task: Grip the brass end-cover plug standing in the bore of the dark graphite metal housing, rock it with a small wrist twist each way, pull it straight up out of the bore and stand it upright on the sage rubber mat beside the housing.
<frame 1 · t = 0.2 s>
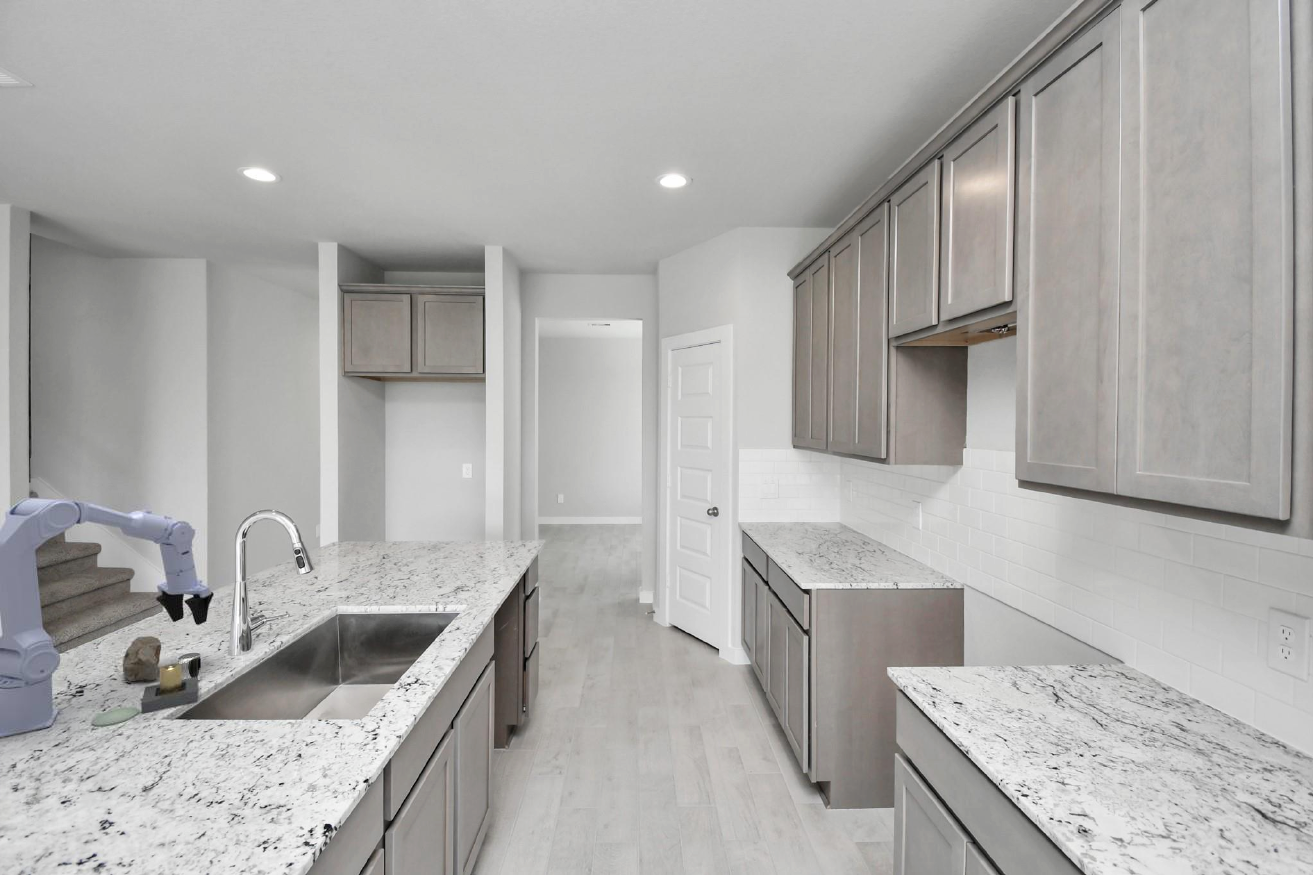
hand: (189, 621, 146), 10 cm above the table, tool pointing down, fingers open, 7 cm apart
mat: (115, 717, 119), on the table
rock: (142, 677, 139), on the table
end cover: (170, 682, 127), in the housing
housing: (171, 699, 127), on the table
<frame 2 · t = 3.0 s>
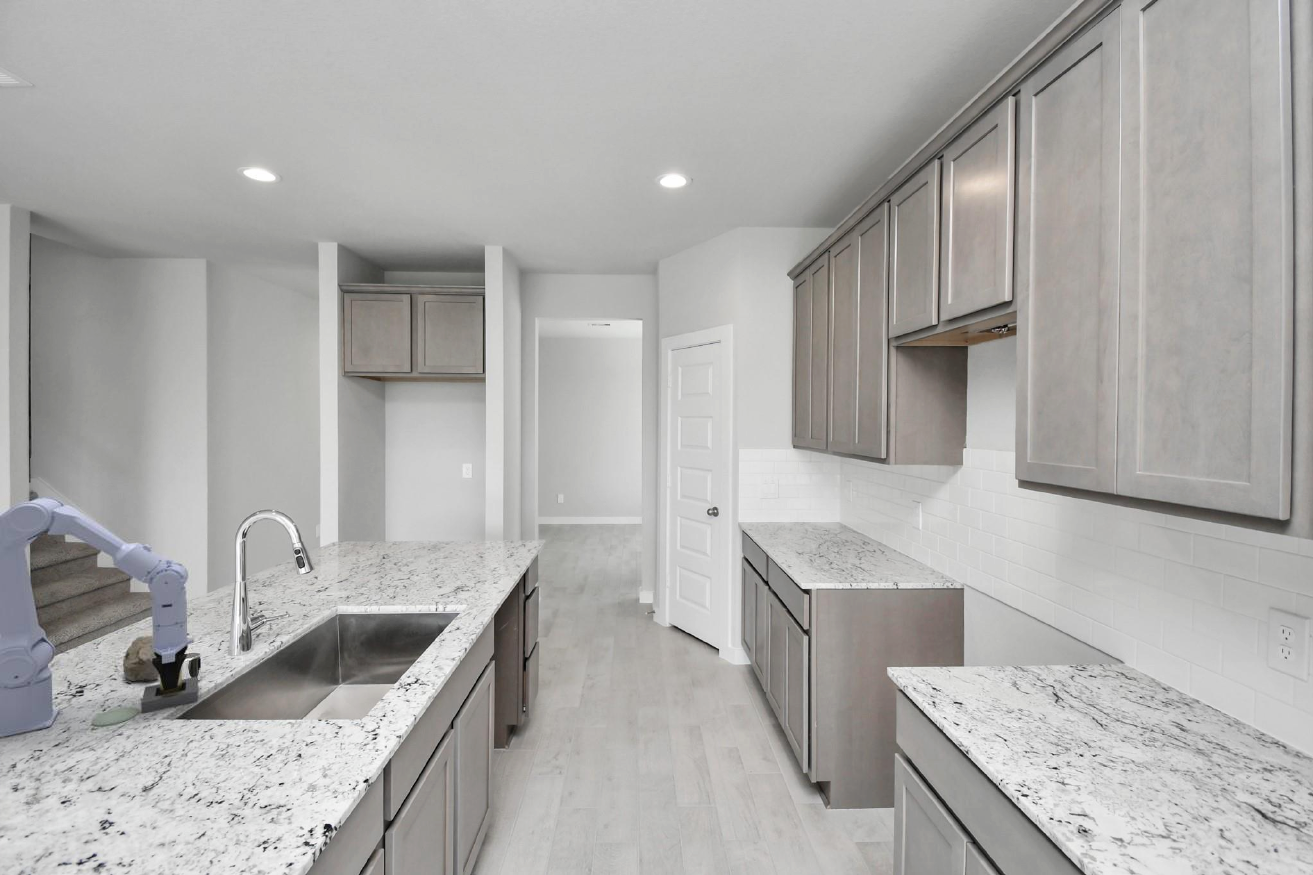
hand: (171, 685, 127), 3 cm above the table, tool pointing down, fingers closed on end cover, 4 cm apart
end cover: (170, 682, 127), in the housing, touching gripper
everything else where it was.
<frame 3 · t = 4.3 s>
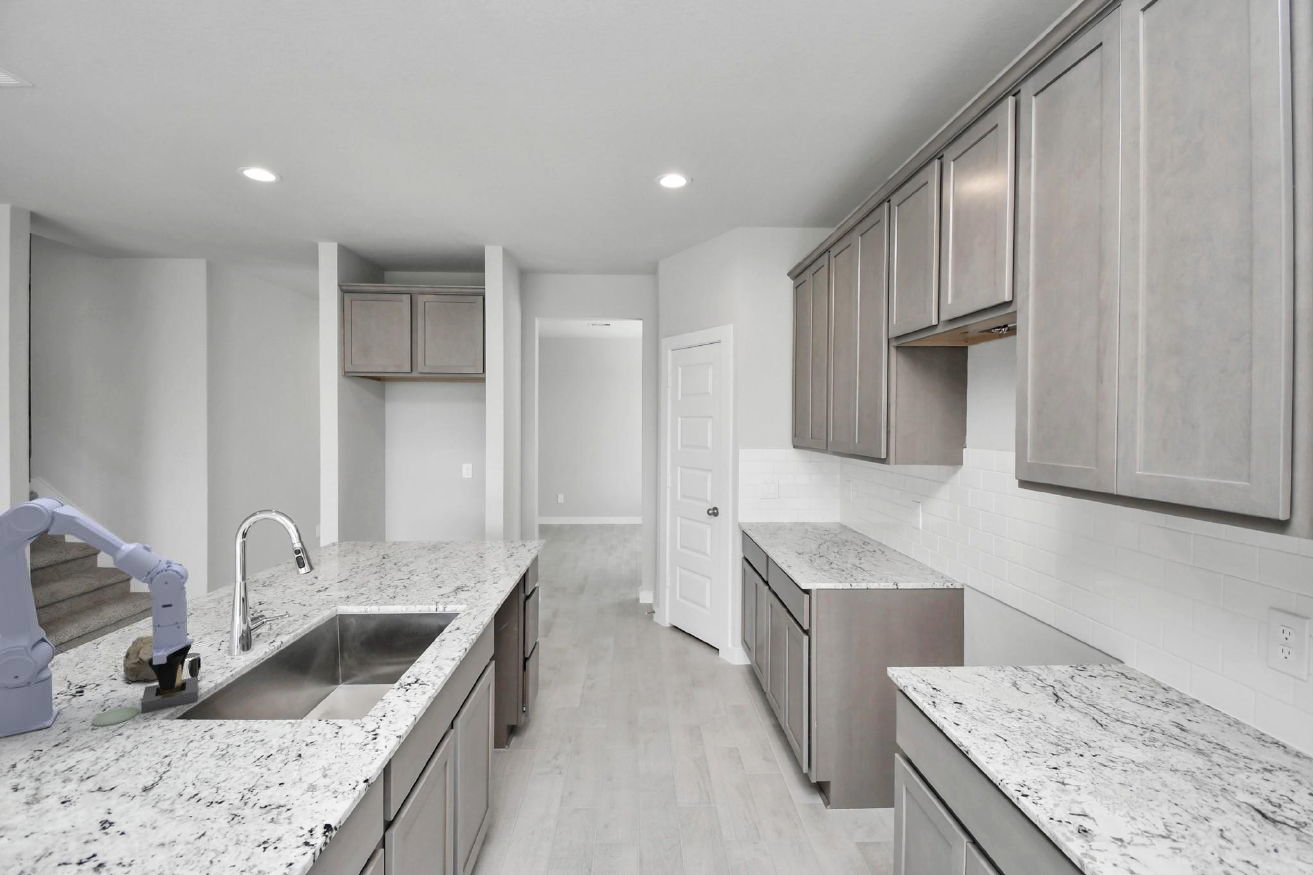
hand: (170, 685, 127), 3 cm above the table, tool pointing down, fingers closed on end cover, 4 cm apart
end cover: (170, 682, 127), in the housing, touching gripper
everything else where it was.
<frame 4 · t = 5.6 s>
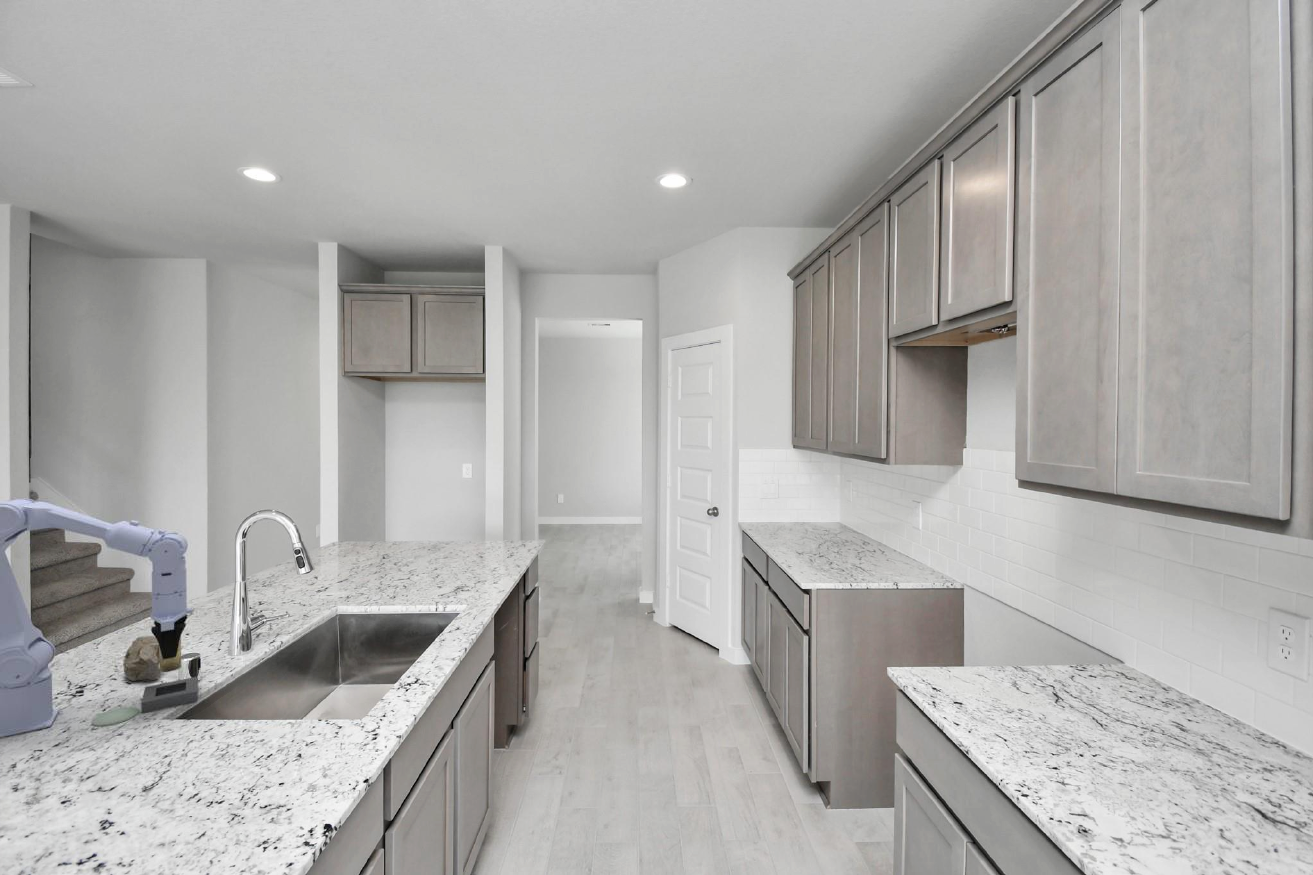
hand: (170, 654, 127), 10 cm above the table, tool pointing down, fingers closed on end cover, 4 cm apart
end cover: (170, 651, 127), point 10 cm above the table, touching gripper
everything else where it was.
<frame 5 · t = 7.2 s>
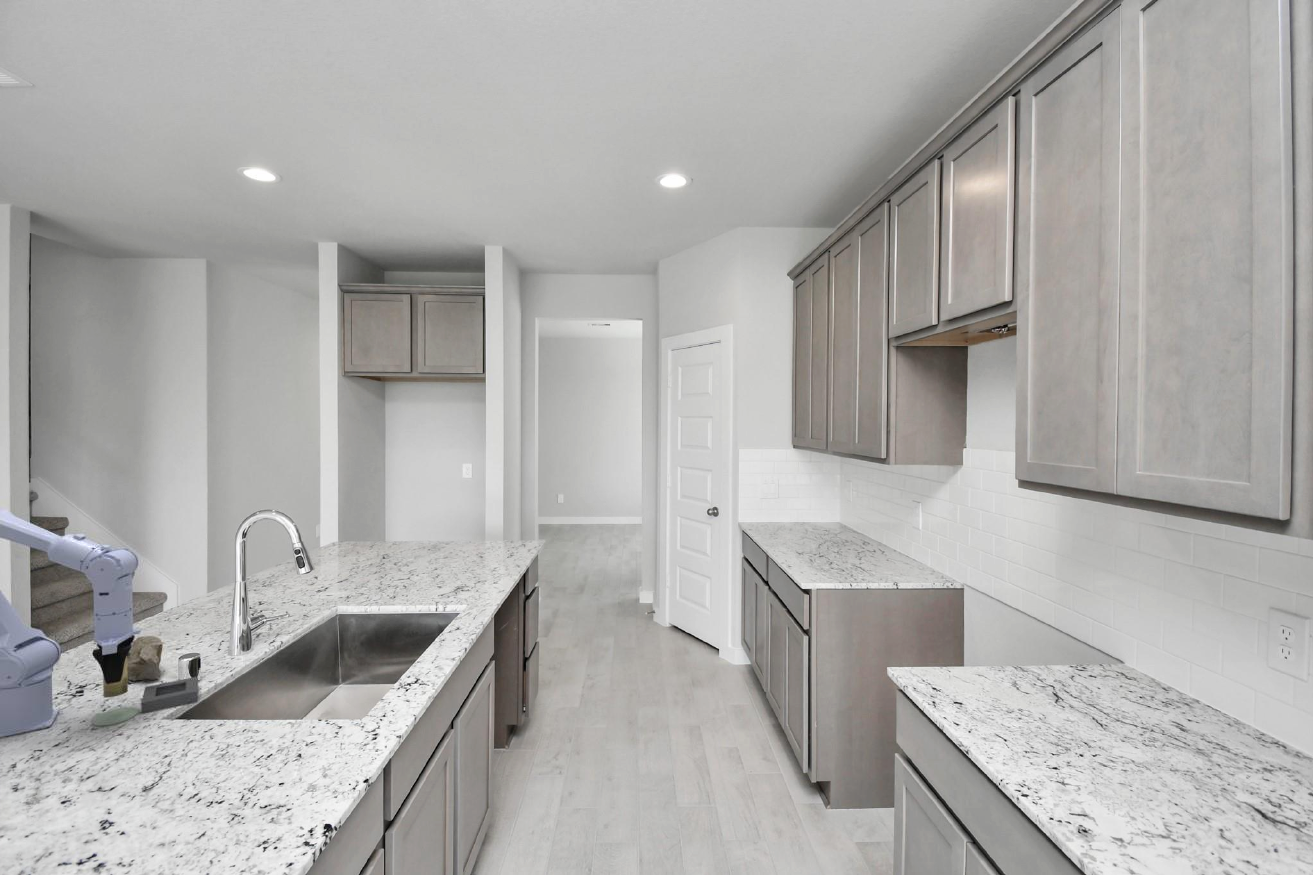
hand: (115, 678, 119), 8 cm above the table, tool pointing down, fingers closed on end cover, 4 cm apart
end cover: (115, 675, 119), point 8 cm above the table, touching gripper
everything else where it was.
when the fingers open (4 cm above the table, at t = 8.6 s): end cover stays where it is, resting on mat.
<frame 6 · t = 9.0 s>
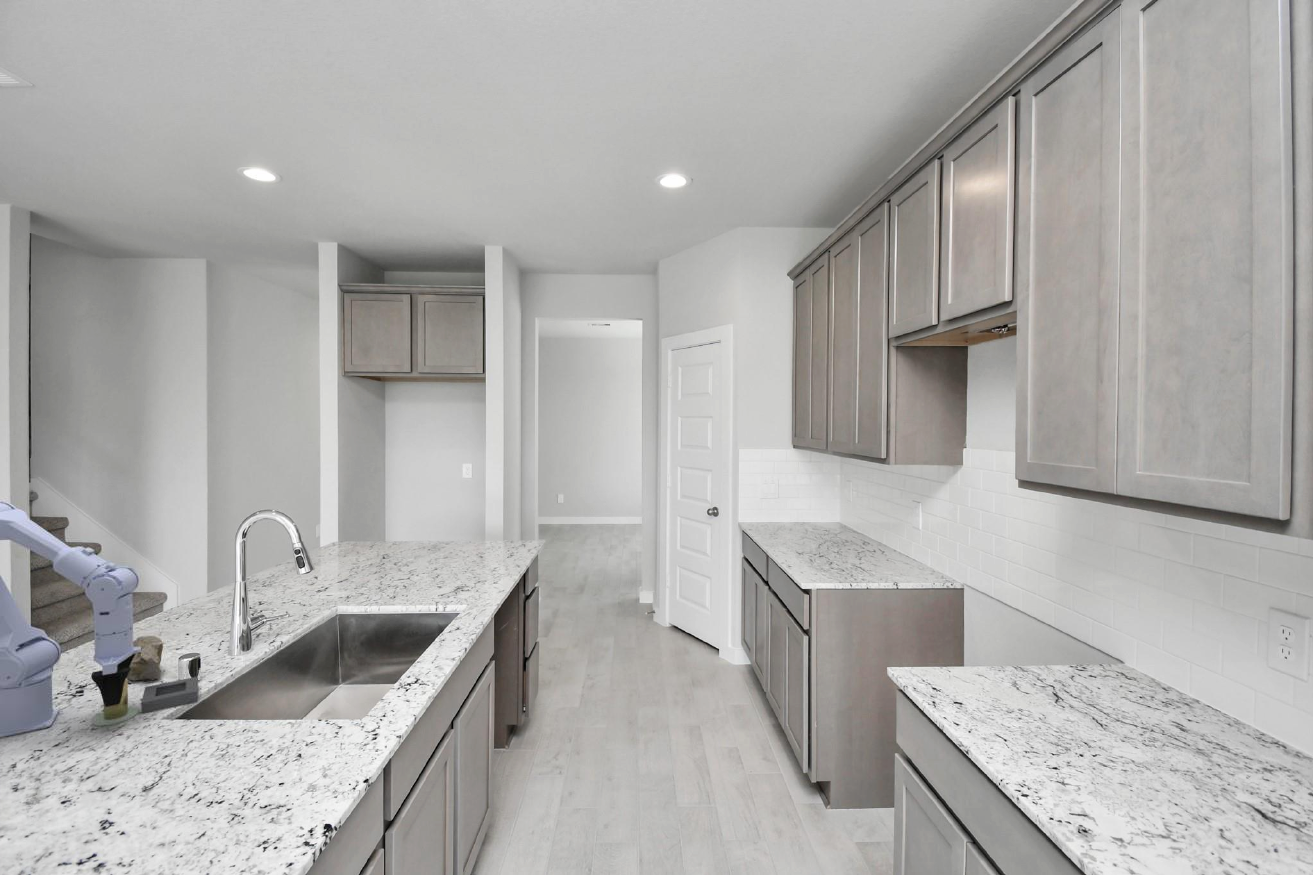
hand: (115, 697, 119), 4 cm above the table, tool pointing down, fingers open, 7 cm apart
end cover: (115, 697, 119), on the mat
everything else where it was.
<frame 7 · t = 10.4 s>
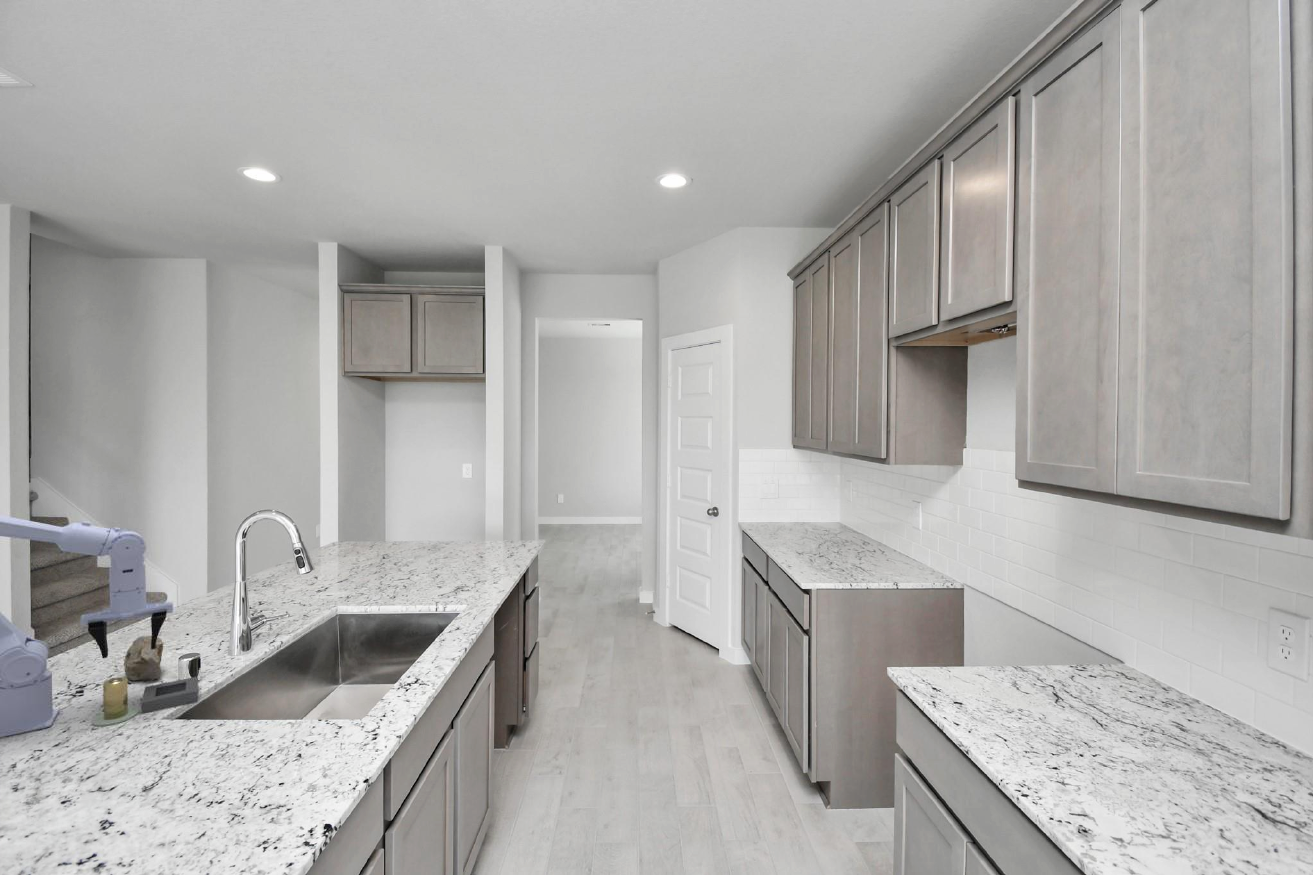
hand: (129, 652, 126), 10 cm above the table, tool pointing down, fingers open, 7 cm apart
nothing on the table moved.
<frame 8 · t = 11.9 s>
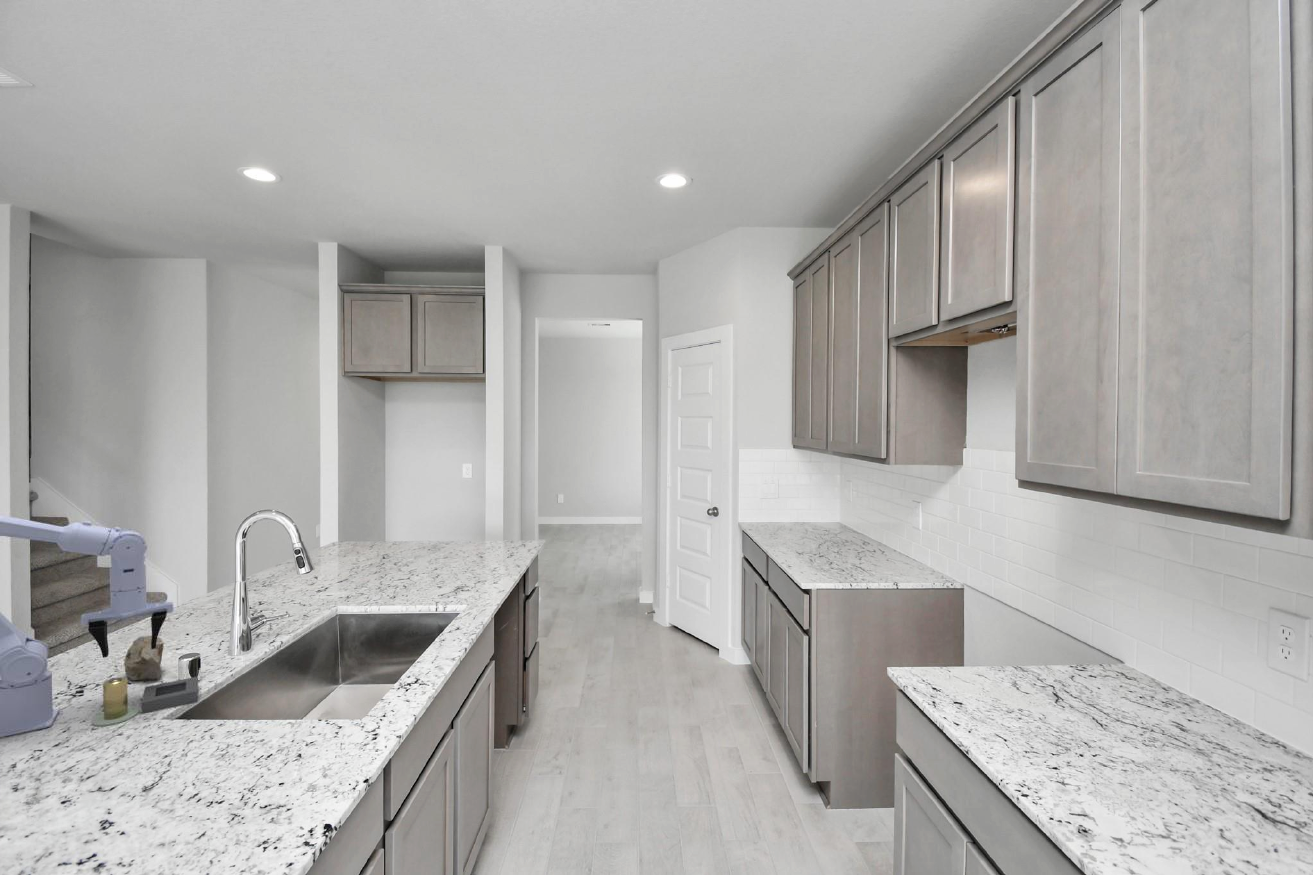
hand: (130, 651, 127), 10 cm above the table, tool pointing down, fingers open, 7 cm apart
nothing on the table moved.
at the end: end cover 0.1 cm off-centre on the mat, point 4.0 cm above the mat's base; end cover tilted 0°; the gripper is holding nothing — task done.
